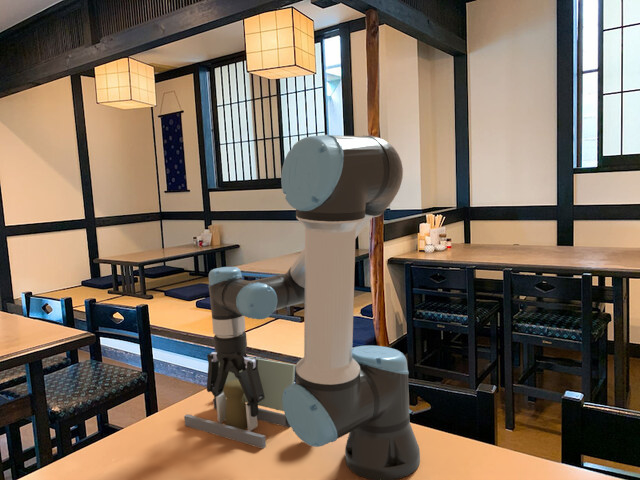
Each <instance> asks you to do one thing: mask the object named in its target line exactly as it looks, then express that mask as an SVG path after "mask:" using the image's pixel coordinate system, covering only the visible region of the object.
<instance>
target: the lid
mask: <svg viewBox="0 0 640 480" xmlns="http://www.w3.org/2000/svg"><path fill="white" fill-rule="evenodd" d="M247 357H248V358H250V359H254V358H255V357H252V356H247ZM257 360H258V372H259V376H260V380H261V384H262V388H263V392H264V396H265V398H264V399H263V400H262V401H260V402H258V407H259V406H261V407H264V408H268V409H272V410H276V411H280V412H281V411H282V412H284V410H283V404H282V395H283V391H284V390H285V389H286V387H288V386H289V384H294V383H295V379H296V364H292V363H287V362H279V361H273V360H270V359H269V360H268V359H263V358H257ZM219 365H220V362H219ZM242 371H243V370H241V371H239V372H242ZM218 373H219V372H218ZM232 380H238V378H236V377H235V375H234V373H232V372H229V373H228V376H227V379H226V382H225V384H226V383H227V382H229V381H232ZM223 392H224V391H223ZM223 392H222V393H223ZM244 398H245V403H246V404H247V403H248V400H247V398H246V396H245V393H244ZM252 398H253V396H252Z"/></svg>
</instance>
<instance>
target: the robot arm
mask: <svg viewBox="0 0 640 480" xmlns="http://www.w3.org/2000/svg"><path fill="white" fill-rule="evenodd" d="M403 174H404V168H403V163H402V160H401V157H400V155H399V153H398V151H397V150H396V149H395V147H394V146H393V145H392V144H391V143H390V142H388V141H386V140H385V139H383V138H381V137H379V136H374V135H361V136H360V135H336V134H335V135H333V134H332V135H330V134H324V135H322V134H321V135H313V136H306V137H303V138H301V139H299V140H298V141H297V142H295V143H294V144H293V145H292V148H291V149H290V150H289V151H288V152H287V155H286V156H285V159H284V162H283V165H282V167H281V175H280V176H281V177H280V179H281V180H280V181H281V184H280V185H281V190H282V193H283V194H284V195H285V198H284V199H285V200H286V202H287V203H288V204H289V206H291V208H293V209H295V217H296V220H298V221H299V222H300V223H301V224H302V225H303V227H304V247H303V249H302V250H301V252H300V254H299V255H298V256H297V258H296V259H295V260H294V262H293V264H291V266H290V267H289V269H288V270H287V272H285V273H283V274H279V275H273V276H269V277H264V278H259V279H254V280H246V279H243V275H242V271H241V268H240V267H237V266H221V267H217V268H213V269H211V270H210V271H209V273H208V286H207V287H208V291H209V300H210V301H209V302H210V311H211V322H212V334H214V336H213V345H214V351H212V352H210V353H208V354H207V355H206V356H207V358H206V359H207V363H208V368H207V377H206V378H207V381H206V383H207V384H206V391H207V392H208V393H211V394H212V396H213V399H214V400H215V407H216V408H217V409H216V414H217V415H216V416H217V422H218V423H221V424H222V423H223V422H225V417H226V396H225V394H224V392H223V391H224V390H223V389H224V386H225V382H226V379H227V376H228V373H229V372H232V373H234V375H235V377H236V378H238V380H239V382H240V384H241V387H242V389H243V391H244V393H245V396H246V398H247V400H248V403H246V414H247V426H248V428H247V431H250V432H252V431H253V430H254V429H256V428H257V427H258V420H257V415H258V413H259V412H258V408H259V405H258V402H260V401H262V400H263V399H264V398H265V396H264V392H263V388H262V384H261V380H260V376H259V372H258V360H257V358H256V357H253V358H254V359H250V358H248V357H249V356H248V355H247V351H246V349H247V348H248V347H247V346H248V339H247V333H246V332H245V331H246V320H245V318H248V319H253V320H265V319H267V318H269V317H270V316H271V315H272V314H273V313H274V312H275V311H278V310H280V309H283V308H288V307H292V306H296V305H300V304H304V319H303V320H304V325H303V326H304V331H303V332H304V334H303V335H304V339H303V342H304V343H303V344H304V346H303V349H304V350H303V351H304V352H303V353H304V354H303V357H302V358H301V359H299V361H297V363H296V364H295V381H294V384H289V386H288V387H286V389H285V390H284V391H283V395H282V404H283V410H284V411H283V414H285V416H286V418H287V421H288V423H289V424H290V426H291V427H290V428H291V430H292V431H293V432H294V433H295V435H296V436H297V438H299V439H300V441H302V442H303V443H304V444H306V445H308V446H310V447H313V448H318V447H323V446H325V445H328V444H330V443H335V441H337V440H338V439H340V438H342V437H344V436H345V435H347V434H348V437H347V440H346V444H345V449H344V454H345V459H344V460H345V464H346V466H347V467H348V469H349V470H351V472H352V473H354V474H356V475H358V476H360V477H363V478H365V479H368V480H398V479H402V478H405V477H407V476H409V475H411V474H413V473H414V472H415V471H416V470H417V469H418V467H420V464H421V452H420V445H419V443H418V440H417V438H416V436H415V433H414V430H413V428H412V426H411V422H410V420H411V419H410V393H409V373H410V371H409V369H408V360H407V358H406V356H405V354H404V353H403V352H401V351H400V350H398V349H395V348H394V347H393V348H392V347H388V346H381V345H360V346H354V347H353V344H354V343H353V341H354V340H353V339H354V336H353V335H354V334H353V333H354V306H355V305H354V297H355V268H356V267H355V265H356V239H357V237H358V236H359V235H360V234H361V232H362V231H363V230H364V229H365V227H366V226H367V225H368V224H369V223H370V221H371V220H372V219H373V218H376V217H380V216H381V215H383V213H385V211H386V210H387V209H388V207H389V206H390V204H392V202H393V201H394V200H395V197H396V196H397V195H398V192H399V191H400V188H401V184H402V180H403ZM219 362H220V365H219ZM241 370H243V371H242V372H239V371H241ZM218 372H219V373H218ZM222 392H223V393H222ZM252 396H253V398H252Z"/></svg>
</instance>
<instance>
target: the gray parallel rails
mask: <svg viewBox="0 0 640 480" xmlns="http://www.w3.org/2000/svg"><path fill="white" fill-rule="evenodd" d="M212 401H213V409H214V410H215V409H216V410H217V408H216V407H215V400H214V398H213V399H212ZM258 412H259V413H258V415H257V421H262V422H266V423H268V424H269V423H270V424H273V425H277V426H281V427H285V428H291V426H290V424H289V423H288V421H287V418H286V416H285V413H281V412H278V411H277V412H276V411H273V410H268V409H264V408H260V407H258ZM183 418H184V425H185V427H189V428H192V429H196V430H199V431H202V432H205V433H210V434H212V435H215V436H216V435H217V436H218V437H223V438H227V439H230V440H233V441H236V442H239V443H244V444H247V445H250V446H253V447H256V448H260V449H265V448H267V443H266V442H267V441H266V435H265V434H260V433H256V432H254V431H248V429H246V430H243V429H239V428H236V427H232V426H228V425H225V423H222V422H221V423H219V422H218V421H214V420H209V419H207V418H202V417H198V416H195V415H193V414H185V415H183Z"/></svg>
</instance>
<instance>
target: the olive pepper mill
mask: <svg viewBox="0 0 640 480" xmlns="http://www.w3.org/2000/svg"><path fill="white" fill-rule="evenodd" d="M223 390H224V394H225V396H226V417H225V420H224V424H225V425H228V426H232V427H236V428H239V429H243V430H248V426H247V414H246V404H247V403H246V402H245V398H244V391H243V389H242V387H241V384H240V382H239V380H232V381H229V382H227V383H226V384H225V386H224V389H223Z"/></svg>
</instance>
